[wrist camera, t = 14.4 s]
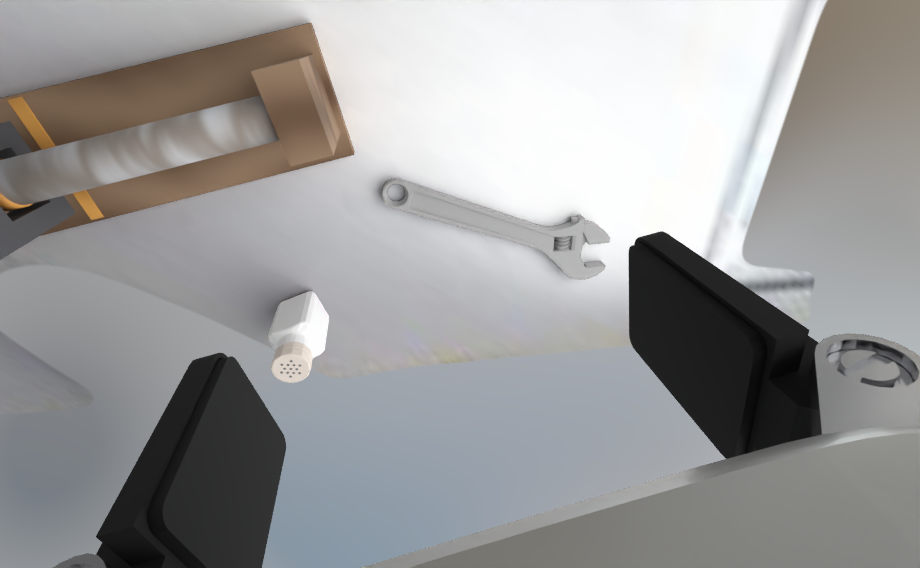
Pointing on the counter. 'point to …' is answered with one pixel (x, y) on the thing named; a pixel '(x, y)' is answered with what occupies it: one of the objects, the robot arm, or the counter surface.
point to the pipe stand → (175, 127)
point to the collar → (28, 222)
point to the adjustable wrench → (506, 226)
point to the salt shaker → (297, 336)
